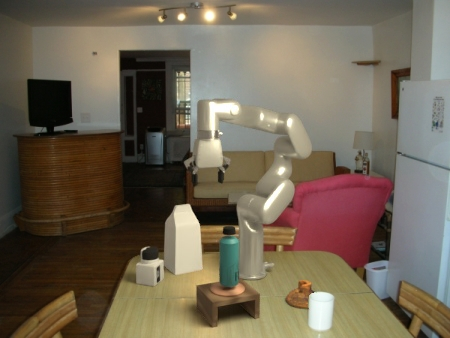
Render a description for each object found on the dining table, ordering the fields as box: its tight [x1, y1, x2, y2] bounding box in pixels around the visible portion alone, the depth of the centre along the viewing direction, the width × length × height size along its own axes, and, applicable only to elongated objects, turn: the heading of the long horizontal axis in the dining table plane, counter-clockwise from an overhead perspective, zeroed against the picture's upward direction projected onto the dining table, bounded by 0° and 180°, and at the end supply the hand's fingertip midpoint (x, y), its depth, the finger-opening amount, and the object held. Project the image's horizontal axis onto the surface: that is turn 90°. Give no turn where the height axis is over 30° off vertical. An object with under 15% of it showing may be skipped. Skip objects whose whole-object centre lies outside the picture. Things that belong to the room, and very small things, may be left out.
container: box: [135, 246, 165, 287], centre depth 178 cm, size 8×8×13 cm
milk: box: [163, 203, 204, 276], centre depth 191 cm, size 12×12×26 cm
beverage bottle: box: [218, 225, 240, 287], centre depth 151 cm, size 6×7×20 cm
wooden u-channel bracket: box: [195, 278, 261, 328], centre depth 153 cm, size 16×14×9 cm
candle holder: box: [285, 279, 316, 309], centre depth 162 cm, size 12×12×7 cm
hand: (207, 183), depth 168 cm, fingers open, 9 cm apart
